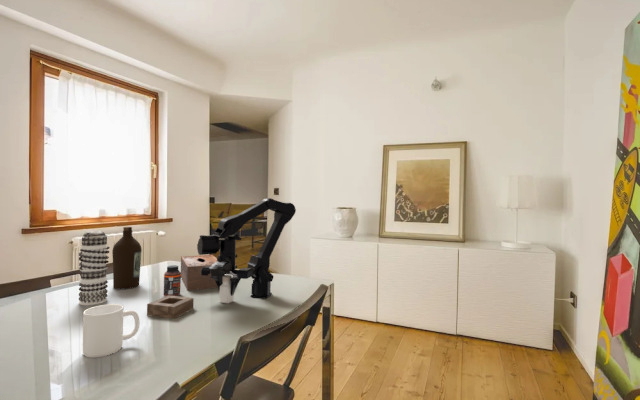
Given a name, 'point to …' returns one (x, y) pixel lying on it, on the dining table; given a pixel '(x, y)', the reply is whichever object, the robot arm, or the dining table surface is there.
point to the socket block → (170, 306)
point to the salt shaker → (226, 290)
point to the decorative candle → (93, 268)
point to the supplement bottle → (172, 281)
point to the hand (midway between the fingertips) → (226, 295)
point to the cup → (105, 329)
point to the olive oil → (126, 261)
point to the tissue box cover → (197, 272)
